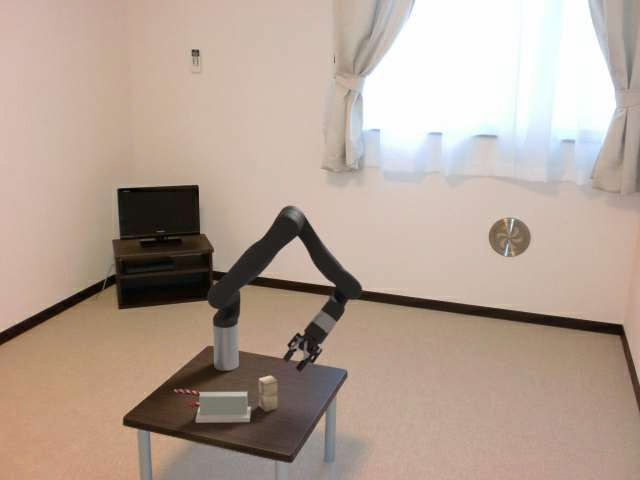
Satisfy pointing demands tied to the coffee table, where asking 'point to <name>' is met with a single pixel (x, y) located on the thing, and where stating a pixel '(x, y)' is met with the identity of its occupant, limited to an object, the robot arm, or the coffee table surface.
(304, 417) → the coffee table surface
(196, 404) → the candy cane
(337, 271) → the robot arm
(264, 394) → the pine block
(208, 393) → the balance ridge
